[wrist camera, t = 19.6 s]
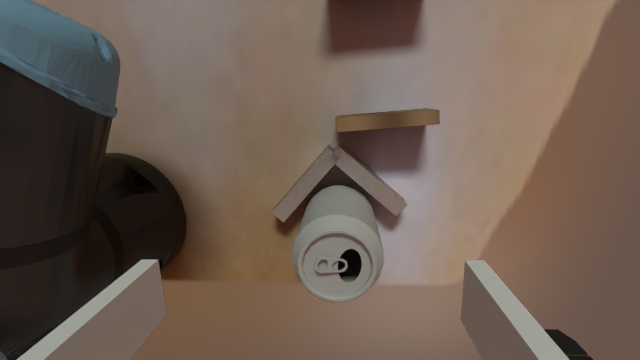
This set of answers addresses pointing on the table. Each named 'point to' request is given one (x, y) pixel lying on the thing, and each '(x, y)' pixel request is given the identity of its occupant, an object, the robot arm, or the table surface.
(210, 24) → the table surface
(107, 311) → the robot arm
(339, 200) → the can
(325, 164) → the v block
